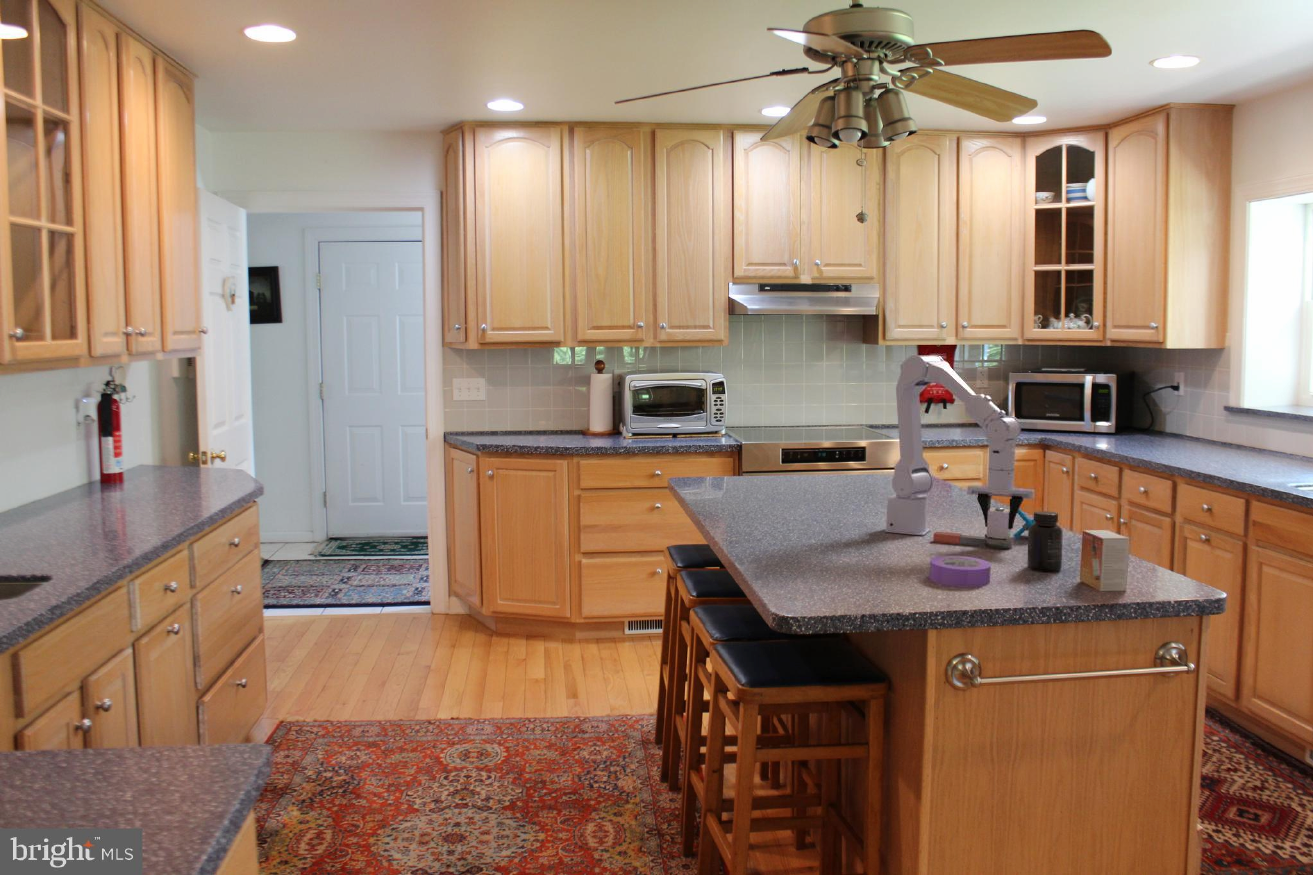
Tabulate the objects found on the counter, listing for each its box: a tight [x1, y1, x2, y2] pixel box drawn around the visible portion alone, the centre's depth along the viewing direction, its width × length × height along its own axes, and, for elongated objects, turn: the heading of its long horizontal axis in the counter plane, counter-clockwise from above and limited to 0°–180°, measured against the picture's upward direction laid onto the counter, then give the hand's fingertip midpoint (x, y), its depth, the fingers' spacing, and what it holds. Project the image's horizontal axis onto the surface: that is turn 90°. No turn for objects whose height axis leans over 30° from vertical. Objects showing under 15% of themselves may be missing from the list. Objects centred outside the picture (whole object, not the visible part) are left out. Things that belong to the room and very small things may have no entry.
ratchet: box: [932, 531, 1013, 551], centre depth 236 cm, size 18×6×5 cm, turn 63°
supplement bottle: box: [1026, 510, 1064, 573], centre depth 212 cm, size 7×7×12 cm
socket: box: [986, 507, 1012, 539], centre depth 233 cm, size 5×5×6 cm
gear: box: [1012, 508, 1035, 539], centre depth 244 cm, size 11×6×10 cm
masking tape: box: [929, 555, 992, 588], centre depth 203 cm, size 12×12×4 cm
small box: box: [1079, 529, 1131, 592], centre depth 198 cm, size 8×6×10 cm
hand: (998, 527), depth 234 cm, fingers closed on socket, 4 cm apart
